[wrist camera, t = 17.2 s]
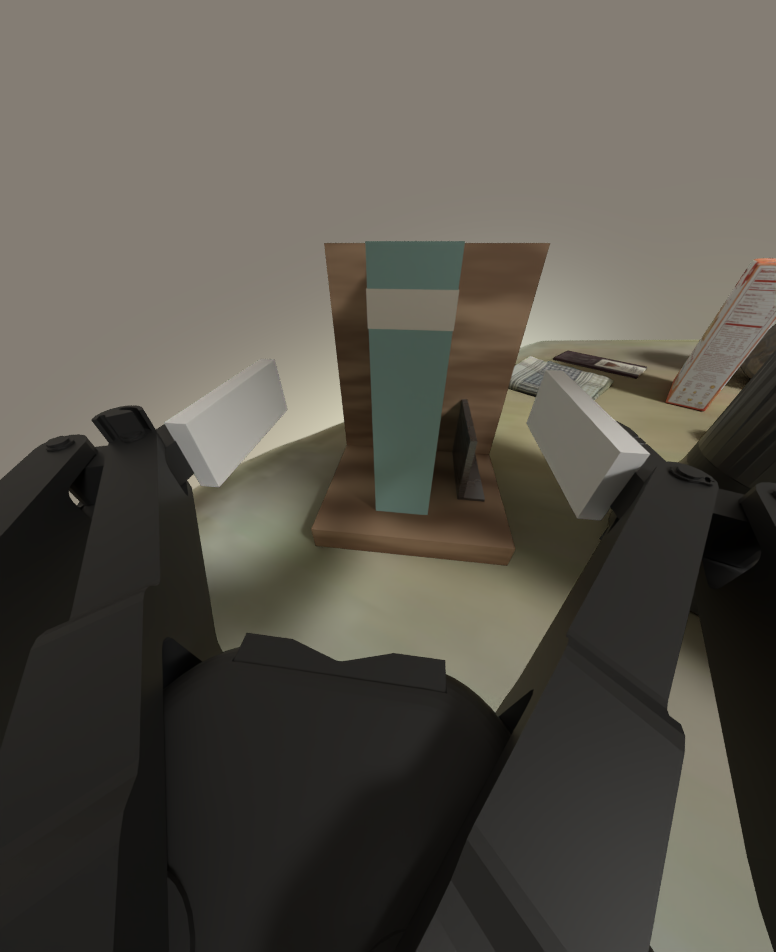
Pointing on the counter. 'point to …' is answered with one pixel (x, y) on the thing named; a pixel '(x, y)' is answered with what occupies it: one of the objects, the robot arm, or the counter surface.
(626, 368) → the chocolate bar
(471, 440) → the bookend
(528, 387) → the dish towel
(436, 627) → the counter surface
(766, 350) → the vessel
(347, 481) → the brown angled piece
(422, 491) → the book
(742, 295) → the cracker box
